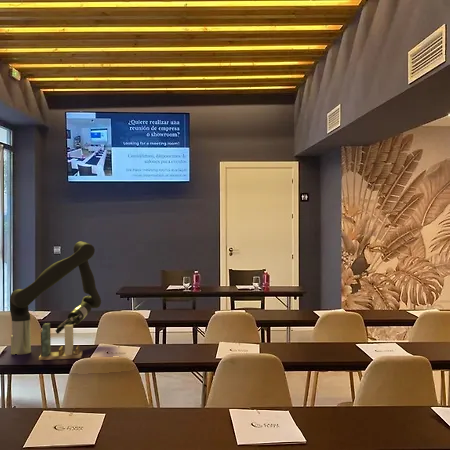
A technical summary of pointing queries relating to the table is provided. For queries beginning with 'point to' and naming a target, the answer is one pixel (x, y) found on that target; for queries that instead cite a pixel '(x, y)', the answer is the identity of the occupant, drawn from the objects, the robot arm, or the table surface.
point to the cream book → (68, 339)
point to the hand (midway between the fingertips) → (62, 329)
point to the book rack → (46, 347)
